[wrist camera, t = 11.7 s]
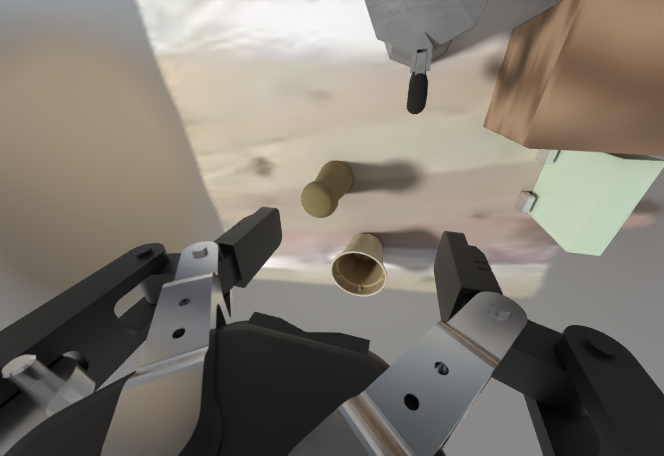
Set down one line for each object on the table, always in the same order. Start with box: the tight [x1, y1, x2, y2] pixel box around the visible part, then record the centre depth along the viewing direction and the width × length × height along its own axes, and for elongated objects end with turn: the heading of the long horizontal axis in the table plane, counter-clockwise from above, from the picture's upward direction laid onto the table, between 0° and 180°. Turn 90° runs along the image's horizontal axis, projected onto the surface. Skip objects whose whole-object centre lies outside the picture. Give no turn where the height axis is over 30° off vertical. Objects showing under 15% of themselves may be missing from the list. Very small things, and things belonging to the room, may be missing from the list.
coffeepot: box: [365, 0, 488, 114], centre depth 21 cm, size 15×9×18 cm, turn 4°
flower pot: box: [330, 233, 387, 296], centre depth 42 cm, size 9×9×9 cm
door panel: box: [528, 150, 664, 256], centre depth 27 cm, size 10×4×11 cm, turn 0°
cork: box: [301, 161, 354, 218], centre depth 36 cm, size 6×6×11 cm
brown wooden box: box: [483, 0, 664, 156], centre depth 22 cm, size 10×11×14 cm
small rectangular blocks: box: [515, 149, 558, 214], centre depth 31 cm, size 9×6×2 cm, turn 179°
